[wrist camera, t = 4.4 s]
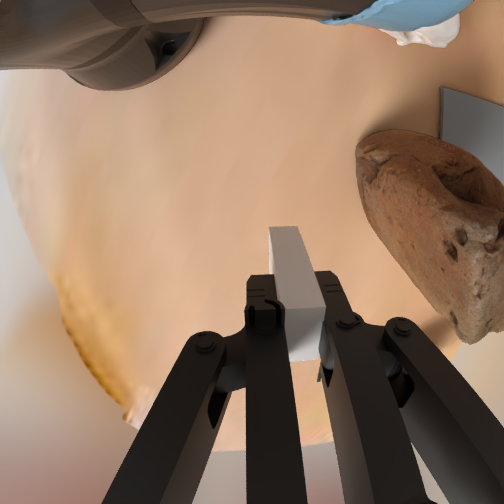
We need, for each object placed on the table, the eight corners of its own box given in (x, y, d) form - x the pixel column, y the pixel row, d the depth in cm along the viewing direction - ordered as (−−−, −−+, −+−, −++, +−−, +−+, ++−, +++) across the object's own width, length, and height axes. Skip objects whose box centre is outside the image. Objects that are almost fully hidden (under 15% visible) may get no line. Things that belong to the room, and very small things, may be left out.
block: (419, 210, 30) (534, 320, 12) (365, 232, 31) (458, 370, 14) (400, 120, 25) (559, 175, 8) (337, 140, 26) (474, 220, 9)
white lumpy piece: (470, 49, 14) (332, 2, 14) (426, 57, 21) (317, 28, 22) (467, -9, 11) (333, -57, 11) (427, 9, 18) (320, -21, 18)
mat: (440, 87, 23) (443, 87, 22) (533, 120, 22) (536, 121, 22) (419, 262, 33) (421, 265, 33) (508, 254, 33) (510, 256, 33)
